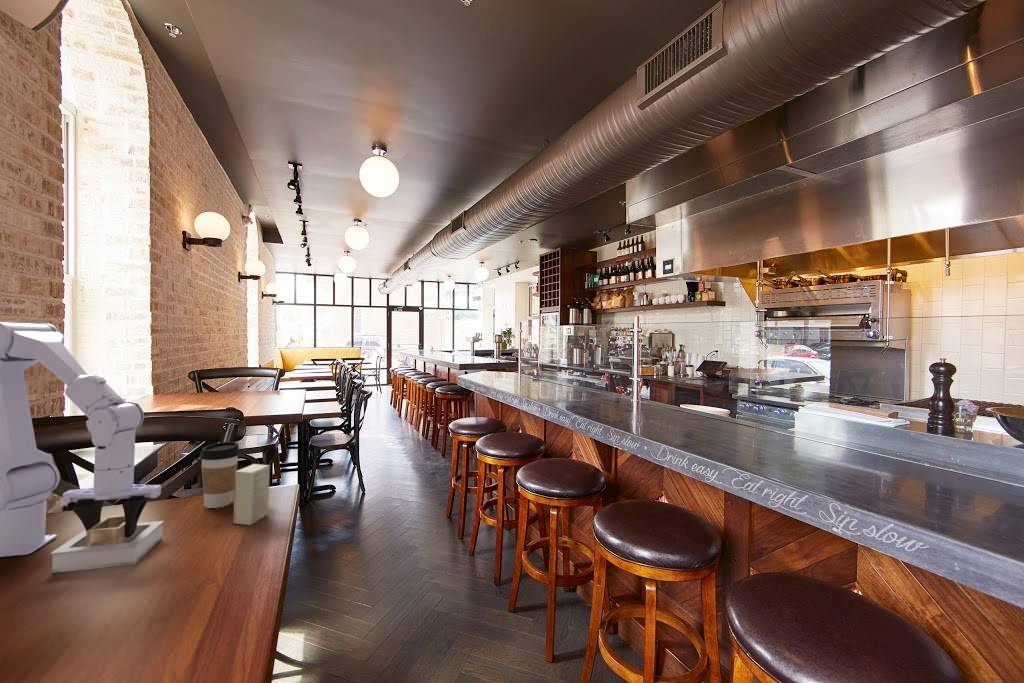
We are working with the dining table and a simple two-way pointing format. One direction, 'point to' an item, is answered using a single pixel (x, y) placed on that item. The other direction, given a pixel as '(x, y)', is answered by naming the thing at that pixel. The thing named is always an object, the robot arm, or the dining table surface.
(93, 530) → the birch crate
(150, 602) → the dining table surface
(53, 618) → the dining table surface
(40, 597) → the dining table surface
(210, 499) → the coffee cup
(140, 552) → the white square tray
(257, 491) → the skincare box
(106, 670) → the dining table surface
